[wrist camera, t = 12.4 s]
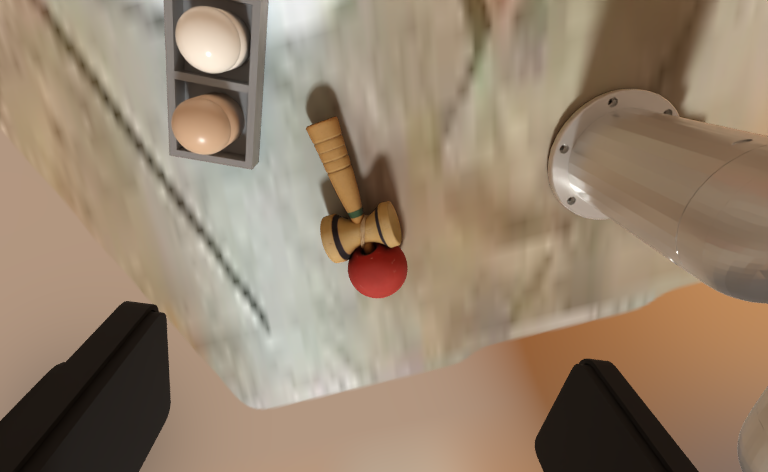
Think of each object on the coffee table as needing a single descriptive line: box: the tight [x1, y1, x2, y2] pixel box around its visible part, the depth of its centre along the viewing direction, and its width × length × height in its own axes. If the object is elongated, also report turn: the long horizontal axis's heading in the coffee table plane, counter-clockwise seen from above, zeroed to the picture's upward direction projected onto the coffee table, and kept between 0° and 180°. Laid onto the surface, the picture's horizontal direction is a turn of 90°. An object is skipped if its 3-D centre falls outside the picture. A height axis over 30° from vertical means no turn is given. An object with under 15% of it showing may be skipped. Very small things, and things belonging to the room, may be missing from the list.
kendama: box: [306, 116, 407, 298], centre depth 38 cm, size 8×6×18 cm
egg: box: [175, 6, 251, 73], centre depth 29 cm, size 4×4×6 cm
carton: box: [164, 0, 268, 169], centre depth 31 cm, size 7×13×7 cm, turn 169°
